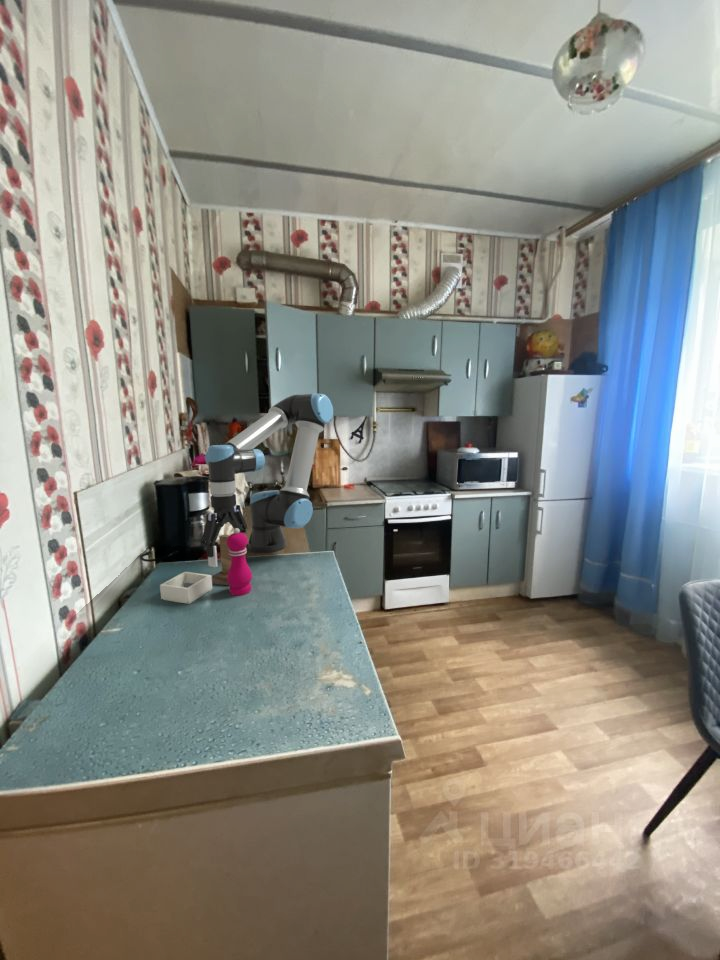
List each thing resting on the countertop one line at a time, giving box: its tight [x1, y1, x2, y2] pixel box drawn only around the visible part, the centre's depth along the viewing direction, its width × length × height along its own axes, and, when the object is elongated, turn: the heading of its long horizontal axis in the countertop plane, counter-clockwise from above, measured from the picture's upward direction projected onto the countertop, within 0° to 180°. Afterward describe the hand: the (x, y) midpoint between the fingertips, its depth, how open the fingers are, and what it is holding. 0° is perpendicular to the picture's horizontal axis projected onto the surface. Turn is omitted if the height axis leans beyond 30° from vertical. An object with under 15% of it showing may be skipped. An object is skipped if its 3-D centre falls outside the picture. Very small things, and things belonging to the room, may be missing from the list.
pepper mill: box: [227, 528, 253, 597], centre depth 113 cm, size 7×7×20 cm
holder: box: [212, 570, 231, 587], centre depth 122 cm, size 7×7×2 cm
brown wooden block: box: [218, 534, 231, 575], centre depth 121 cm, size 2×4×15 cm, turn 73°
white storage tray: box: [159, 571, 213, 605], centre depth 112 cm, size 10×10×4 cm
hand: (227, 558), depth 121 cm, fingers open, 13 cm apart
